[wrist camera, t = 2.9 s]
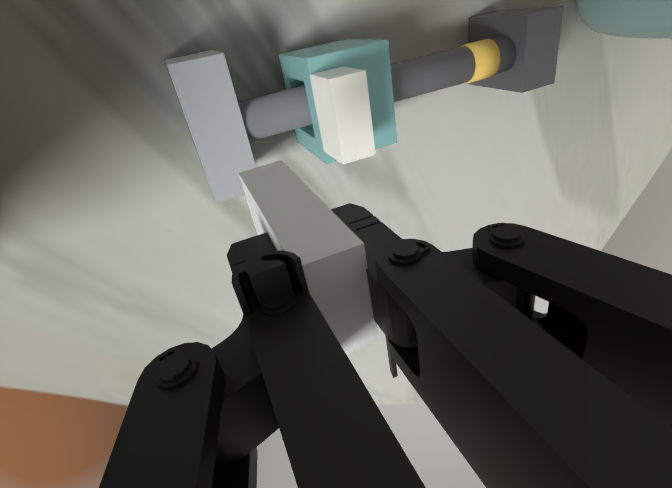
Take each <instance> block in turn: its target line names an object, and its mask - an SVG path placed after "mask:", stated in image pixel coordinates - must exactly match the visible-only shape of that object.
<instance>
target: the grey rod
mask: <svg viewBox="0 0 672 488" xmlns="http://www.w3.org/2000/svg"><path fill="white" fill-rule="evenodd" d="M515 60H516V46H515V44H514V42H513V40H512V39H511V38H510V37H507V36H503V37H499V38H495V39H484V40H480V41H476V42H472V43H468V44H464V45H461V46H460V47H458V48H454V49H450V50H446V51H442V52H438V53H434V54H430V55H426V56H422V57H418V58H414V59H410V60H405V61H401V62H397V63H393V64H390V65H391V76H392V88H393V99H394V102H396V101H400V100H403V99H407V98H411V97H414V96H418V95H422V94H425V93H429V92H432V91H436V90H440V89H443V88H447V87H451V86H454V85H458V84H462V83H464V84H467V83H471V82H474V81H478V80H482V79H485V78H489V77H492V76H493V75H495V74H498V73H502V72H506V71H508V70H510V69H511V68H512V67H513V65H514V63H515ZM238 105H239V108H240V112H241V115H242V119H243V123H244V126H245V130H246V133H247V137H248V140H249V142H250V141H253V140H257V139H261V138H264V137H268V136H272V135H275V134H279V133H283V132H286V131H290V130H294V129H297V128H301V127H305V126H308V125H312V120H311V115H310V109H309V104H308V99H307V94H306V89H305V85H304V86H300V87H296V88H292V89H288V90H284V91H280V92H276V93H272V94H268V95H264V96H260V97H256V98H252V99H247V100H243V101H239V102H238Z"/></svg>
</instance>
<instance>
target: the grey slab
mask: <svg viewBox="0 0 672 488" xmlns="http://www.w3.org/2000/svg"><path fill="white" fill-rule="evenodd" d="M165 62H166V65H167V68H168V71H169V73H170V76H171V79H172V82H173V85H174V87H175V90H176V93H177V96H178V99H179V101H180V104H181V107H182V110H183V113H184V115H185V118H186V121H187V124H188V127H189V129H190V132H191V135H192V138H193V141H194V143H195V146H196V149H197V152H198V155H199V157H200V160H201V163H202V166H203V169H204V171H205V174H206V177H207V180H208V183H209V185H210V188H211V191H212V194H213V196H214V199H215V202H216V203H220V202H223V201H226V200H230V199H233V198H236V197H239V196H243V195H245V192H244V189H243V186H242V183H241V180H240V176H239V173H240V172H243V171H246V170H250V169H253V168H256V165H255V161H254V158H253V154H252V151H251V147H250V144H249V140H248V137H247V133H246V130H245V126H244V123H243V119H242V115H241V112H240V108H239V105H238V101H237V98H236V94H235V91H234V87H233V84H232V80H231V77H230V73H229V70H228V66H227V63H226V59H225V56H224V53H222V52H218V51H214V50H209V51H204V52H199V53H195V54H190V55H185V56H180V57H176V58H171V59H166V60H165Z"/></svg>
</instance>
